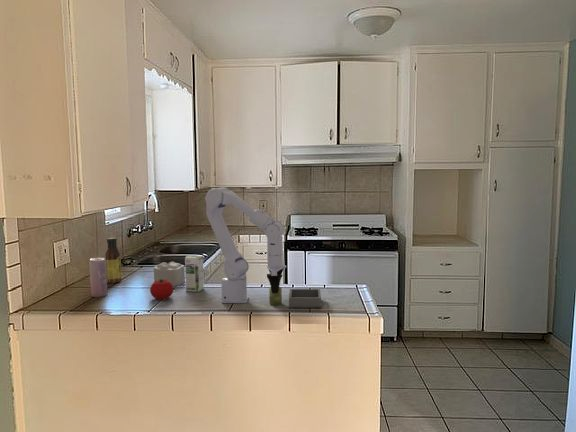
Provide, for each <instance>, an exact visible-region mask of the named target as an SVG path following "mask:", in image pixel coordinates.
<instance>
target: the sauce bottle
mask: <svg viewBox="0 0 576 432" xmlns="http://www.w3.org/2000/svg"><path fill="white" fill-rule="evenodd" d="M117 239H118V238H117V237H108V238H107V239H106V242H107V250H106V252H105V261H106V279H107V283H109V284H115V283H120V282H121V281H122V278H123V275H122V262H121V258H122V257H121V253H120V251H119V249H118V246H117V241H118V240H117Z"/></svg>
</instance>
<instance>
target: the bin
mask: <svg viewBox="0 0 576 432" xmlns="http://www.w3.org/2000/svg"><path fill="white" fill-rule="evenodd" d="M288 309H289V310H296V309H297V310H300V309H301V310H302V309H303V310H311V309H312V310H321V309H322V295H321V288H289V295H288Z"/></svg>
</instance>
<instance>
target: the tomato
mask: <svg viewBox="0 0 576 432" xmlns="http://www.w3.org/2000/svg"><path fill="white" fill-rule="evenodd" d="M174 289H175V288H174V286H173V285H172V283H171V282H170V281H168V280H162V279H161V280H160V279H159V280H158V281H155V282H154V281H153V283H152V284H151V286H150V290H149V292H150V294H151V296H152V297H153V298H155V299H156V300H160V301H162V300H166V299H169V298H170V297H172V294H173V292H174Z"/></svg>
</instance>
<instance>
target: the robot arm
mask: <svg viewBox="0 0 576 432" xmlns="http://www.w3.org/2000/svg"><path fill="white" fill-rule="evenodd" d="M204 200H205V202H206V207H205V214H206V217H207V219H208V221H209V224H210V227H211V229H212V232H213V234H214V236H215V239H216V240H217V243H218V246H219V248H220V251H221V252H222V254H223V261H222V264H223V267H224V274H225V276H226V277H222V279H221V303H222V304H246V303H248V300H249V298H250V296H249V295H248V291H247V289H248V288H247V287H248V285H247V272H248V270H249V267H250V266H249V262H248V261H247V260H246V259H245V257H243V254H242V253H241V252H239V251H238V248H237V247H236V245H235V242H234V239H233V238H232V235H231V234H230V231H229V228H228V226H227V224H226V221H225V219H224V217H223V211H224V209H225V207H226V206H233V207H234V208H235V209H236V210H239V211H241V212H242V213H243V214H244V215H246V216H248V218H249V221H250V222H251V223H252V224H253V225H255V226H256V227H257V228H259V229H260V230H261V231H263V233H264V235H265V237H266V239H267V240H266V241H267V242H266V243H267V244H266V249H267V255H266V256H267V266H266V267H267V268H266V269H268V272H269V273H267V274H266V277H267V280H268V281H269V285H270V287H271V291H272V293H278V290H279V287H280V284H281V279H282V277H283V272H284V269H287V265H285V264H284V255H283V253H284V250H283V249H284V246H283V242H284V241H283V234H284V232H285V225H284V224H283V223H282V222H281V221H279V220H276V219H275V218H274V217H271V216H270V215H268V214H267V213H266V211H265V210H264V209H260V208H257V209H254V207H252V206H251V205H250V204H248V202H246V201H245V200H244V199H242V198H241V197H240V196H239V195H238V194H237V193H235V191H233V190H230V189H229V187H227V186H223V187H217V188H216V187H212V188H210V189H209V190H208V191H207V193H206V195H205V197H204Z"/></svg>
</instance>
